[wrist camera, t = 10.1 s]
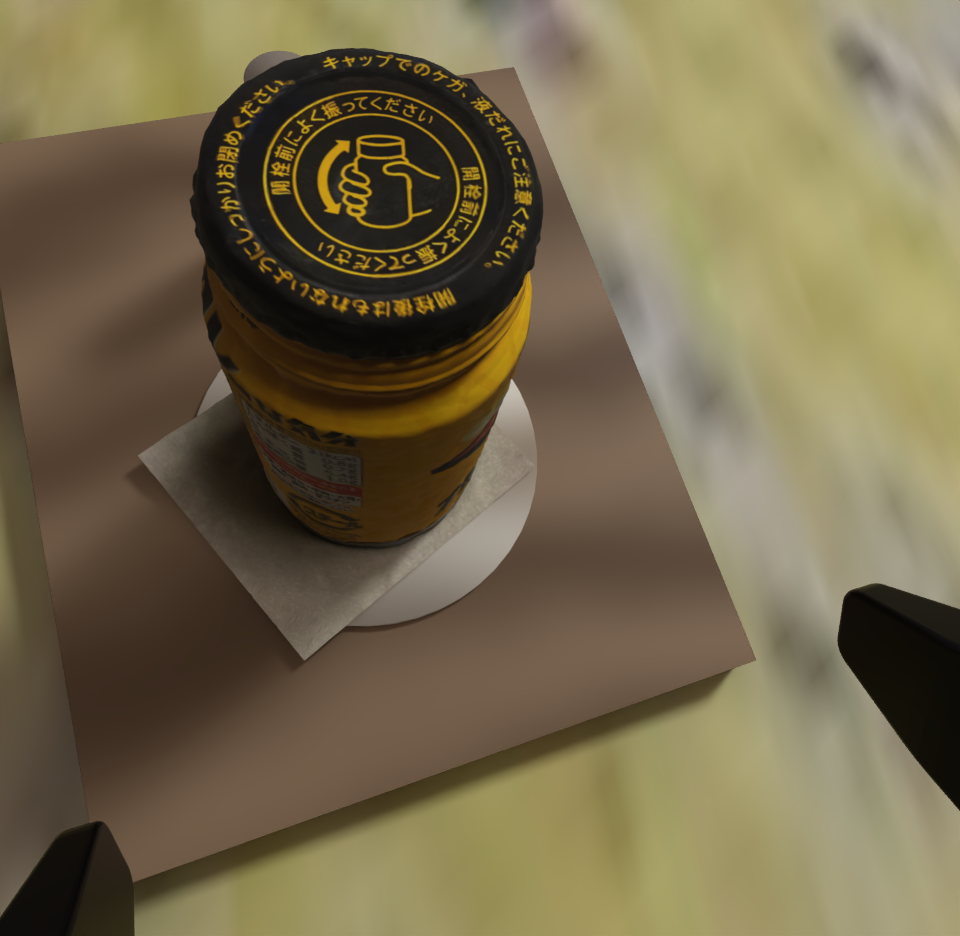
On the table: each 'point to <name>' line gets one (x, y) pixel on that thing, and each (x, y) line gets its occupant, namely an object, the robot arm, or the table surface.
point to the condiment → (354, 328)
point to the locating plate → (392, 617)
